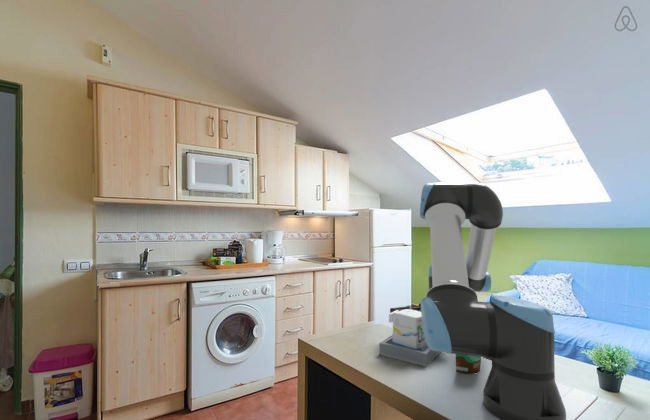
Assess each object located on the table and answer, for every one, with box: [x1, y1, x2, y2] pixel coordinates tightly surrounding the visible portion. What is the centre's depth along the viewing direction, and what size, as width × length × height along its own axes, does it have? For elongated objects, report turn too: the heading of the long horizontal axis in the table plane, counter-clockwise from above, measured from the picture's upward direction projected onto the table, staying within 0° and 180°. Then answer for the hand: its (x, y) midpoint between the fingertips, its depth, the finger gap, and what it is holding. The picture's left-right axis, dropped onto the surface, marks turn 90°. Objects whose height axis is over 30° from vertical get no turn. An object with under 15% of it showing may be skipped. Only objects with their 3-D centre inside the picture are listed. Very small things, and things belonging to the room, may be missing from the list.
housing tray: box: [378, 334, 441, 367], centre depth 102 cm, size 14×14×4 cm
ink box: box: [392, 309, 429, 352], centre depth 102 cm, size 9×8×12 cm
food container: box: [455, 354, 482, 375], centre depth 91 cm, size 12×6×10 cm, turn 143°
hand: (410, 321), depth 102 cm, fingers open, 13 cm apart
